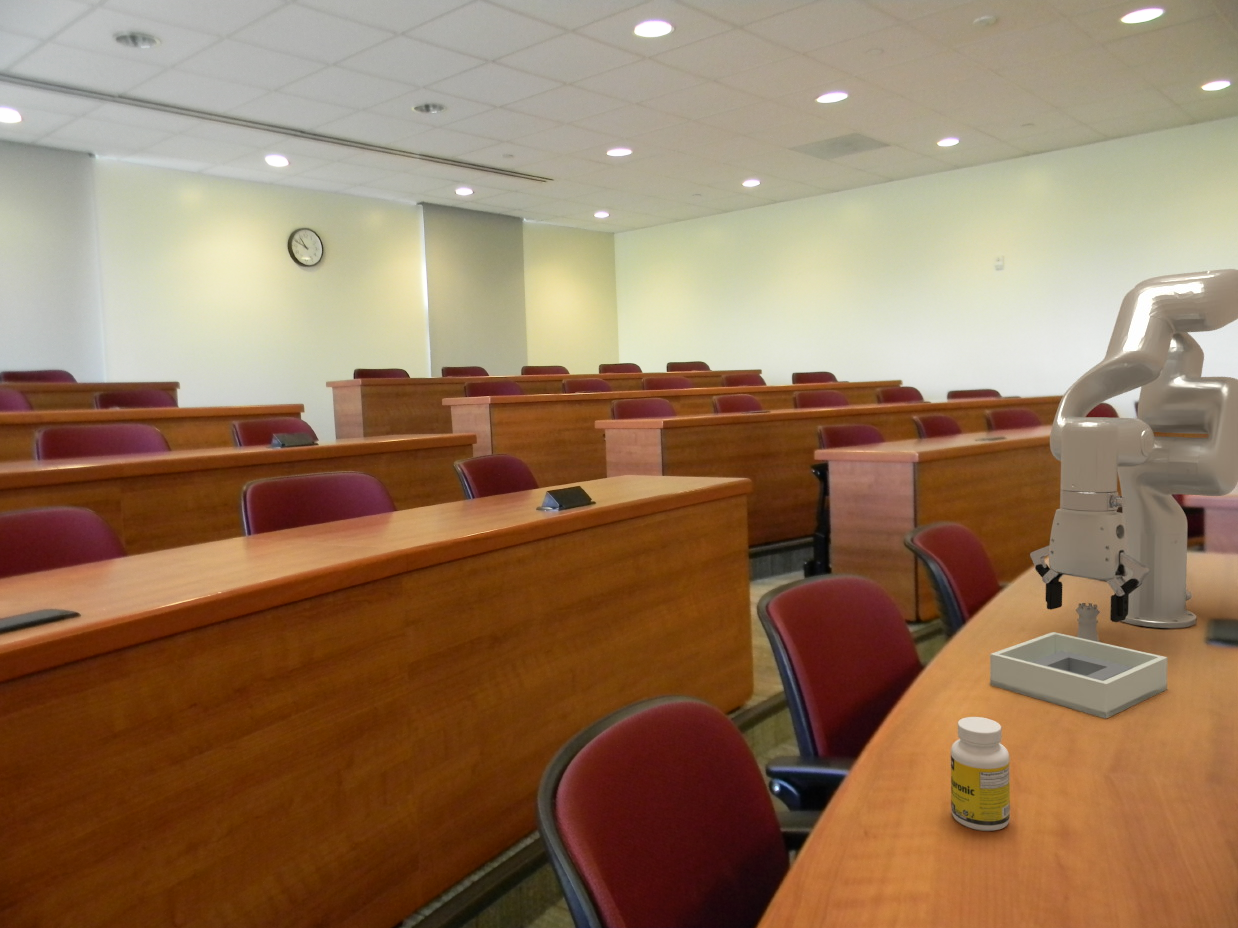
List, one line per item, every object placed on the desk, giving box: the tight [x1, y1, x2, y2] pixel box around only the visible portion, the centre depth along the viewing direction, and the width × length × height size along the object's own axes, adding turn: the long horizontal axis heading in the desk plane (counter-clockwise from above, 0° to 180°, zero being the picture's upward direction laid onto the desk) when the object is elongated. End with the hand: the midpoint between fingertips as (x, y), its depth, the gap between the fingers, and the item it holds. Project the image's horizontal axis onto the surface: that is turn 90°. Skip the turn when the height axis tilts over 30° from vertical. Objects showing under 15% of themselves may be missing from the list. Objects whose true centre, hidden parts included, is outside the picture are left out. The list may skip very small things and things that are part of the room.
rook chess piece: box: [1075, 602, 1101, 642], centre depth 134 cm, size 4×4×8 cm
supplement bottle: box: [950, 716, 1011, 832], centre depth 87 cm, size 5×5×10 cm
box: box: [989, 631, 1168, 719], centre depth 121 cm, size 16×16×4 cm
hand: (1085, 614), depth 133 cm, fingers open, 9 cm apart
